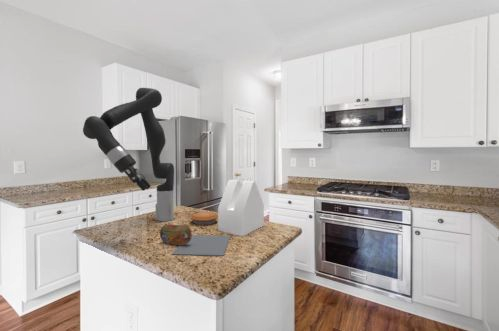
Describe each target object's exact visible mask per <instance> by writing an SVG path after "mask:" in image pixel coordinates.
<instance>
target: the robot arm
mask: <svg viewBox="0 0 499 331" xmlns="http://www.w3.org/2000/svg"><path fill="white" fill-rule="evenodd" d="M162 97H163V96H162V94H161V91H159V90H158V89H156V88H150V87H139V88H138V89H137V90H136V93H135V100H133V101H129V102H125V103H121V104H119V105H115V106H114V107H112V108H110V109H108V110H106V111H104V112H103V113H102V114H101V116H100V117H99V116H95V115H91V116H88V117H87V118H86V119H85V120H84V123H83V127H82V133H83V135H84V136H85V137H86V138H88V139H90V140H96V141H97V145H98V147H99V149H100V150H101V152H103V154H104V155H105V156H106V157H107V159H108V160H109V162H110V163H111V164H112V166H114V168H116V169H117V171H118V172H119V173H121V174H123V173H124V174H125V175H126V176H127V177H128V178H129V179H130V180H131V181H132V183H133V184H136V185H137V186H138V187H139V188H140V189H141V191H145V190H148V189H150V188H151V187H152V186H151V184H150V183H149V181H147V180H146V177H145V176H144V175H143V173H141V172H140V170H139V169H138V168H135V167H134V166H135V165H136V164H137V161H136V160H135V159H134V158H133V156H132V155H131V154H130V153H129V152H128V150H127V149H125V147H124V146H122V145H121V144H120V142H119V141H118V140H117V139H116V138H115V137H114V135H113V133H112V131H111V130H112V129H113V128H114V127H117V126H118V125H120V124H122V123H123V122H126V121H127V120H129V119H131V118H133V117H135V116H137V115H139V114H140V116H141V118H142V119H141V120H142V123H143V126H144V131H145V136H146V141H147V145H148V148H149V153H150V158H151V159H150V160H151V165H152V172H153V176H154V178H156V179H162V180H165V182H164V183H161V184H157V186H156V203H155V221H156V222H170V221H173V220H174V218H175V217H174V216H175V215H174V213H175V212H174V211H175V209H174V207H175V206H174V185H175V182H174V181H175V178H174V177H175V167H174V164H173V163H172V162H161V160H160V159H161V153H162V152H163V149H164V148H165V145H166V142H167V141H166V136H165V131H164V128H163V126H162V124H160V122H159V120H158V118H156V115H155V113H154V110H153V109H155V108H157V107H159V106H160V105H161V104H162V100H163V98H162Z"/></svg>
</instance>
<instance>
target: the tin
mask: <svg viewBox="0 0 499 331" xmlns="http://www.w3.org/2000/svg"><path fill="white" fill-rule="evenodd" d="M192 235H193V232H192V229H191V228H190V227H189V225H187V224H182V223H181V224H180V223H167V224H166V223H165V224H164V225H163V226H161V228H160V230H159V236H160V239H161V241H162V242H163V243H165V244H166V245H173V246H174V245H176V246H179V245H185V244H186V243H188V242H189V241H190V240H191V237H192Z"/></svg>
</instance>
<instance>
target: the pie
mask: <svg viewBox="0 0 499 331" xmlns="http://www.w3.org/2000/svg"><path fill="white" fill-rule="evenodd" d="M189 218H190V219H191V220H192V222H193V223H194V224H195V225H197V226H208V225H212V224H214V223H215V222H216V220H217V219H218V213H215V212H212V211H200V212H195V213H193V214H192V215H190V216H189Z"/></svg>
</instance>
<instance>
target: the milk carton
mask: <svg viewBox="0 0 499 331" xmlns="http://www.w3.org/2000/svg"><path fill="white" fill-rule="evenodd" d="M264 210H265V205H264V202H263V199H262V196H261V194H260V191H259V188H258V185H257V183H256V181H252V180H244V181H243V183H241V180H239V179H228V181H227V184H226V186H225V189H224V192H223V195H222V197H221V200H220V203H219V205H218V208H217V215H218V217H217V221H218V222H217V231H219V232H223V233H227V234H231V235H236V236H239V237H245V236H247V235H248V233H249V234H250V232H251V233H253V232H255V231H257V230H259V229H260V227H261V228H263V227H264V226H265V224H264V223H265V222H264V219H265V215H264V214H265V212H264ZM262 226H263V227H262ZM258 228H259V229H258ZM256 229H257V230H256ZM254 230H255V231H254ZM252 231H253V232H252Z"/></svg>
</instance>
